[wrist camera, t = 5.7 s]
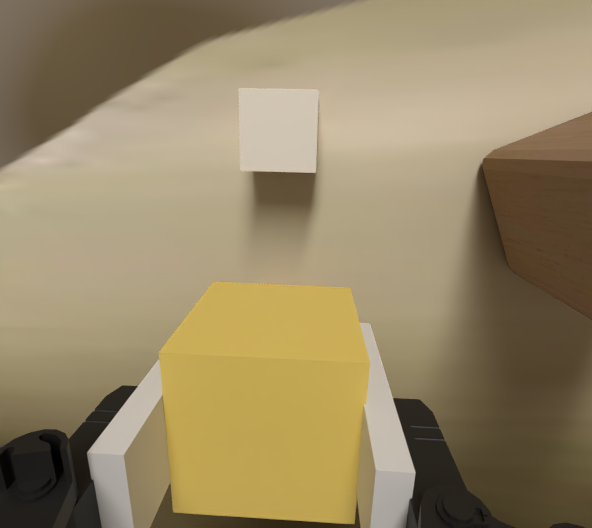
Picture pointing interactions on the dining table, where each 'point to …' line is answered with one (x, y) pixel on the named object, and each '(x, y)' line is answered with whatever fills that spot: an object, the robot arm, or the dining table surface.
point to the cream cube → (278, 129)
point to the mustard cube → (266, 403)
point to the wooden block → (547, 209)
